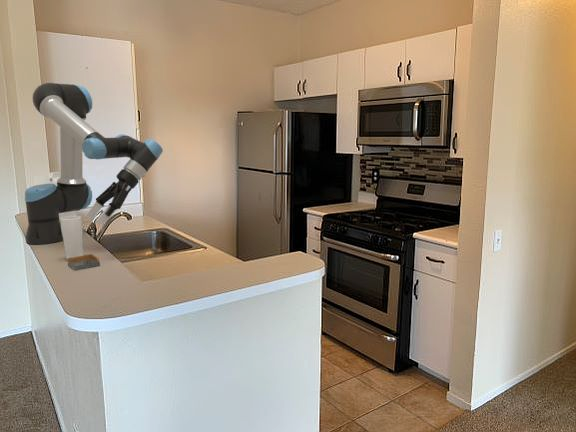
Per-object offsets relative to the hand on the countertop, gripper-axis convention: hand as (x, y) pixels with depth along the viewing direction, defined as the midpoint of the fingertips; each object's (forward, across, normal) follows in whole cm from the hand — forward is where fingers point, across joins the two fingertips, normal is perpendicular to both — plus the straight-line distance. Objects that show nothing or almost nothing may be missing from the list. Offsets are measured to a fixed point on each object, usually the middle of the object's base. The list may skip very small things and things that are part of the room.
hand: (93, 220), depth 164 cm
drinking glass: (+15, +1, -4) cm, 15 cm away
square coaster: (+15, -10, -4) cm, 18 cm away
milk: (+4, +81, -14) cm, 82 cm away
